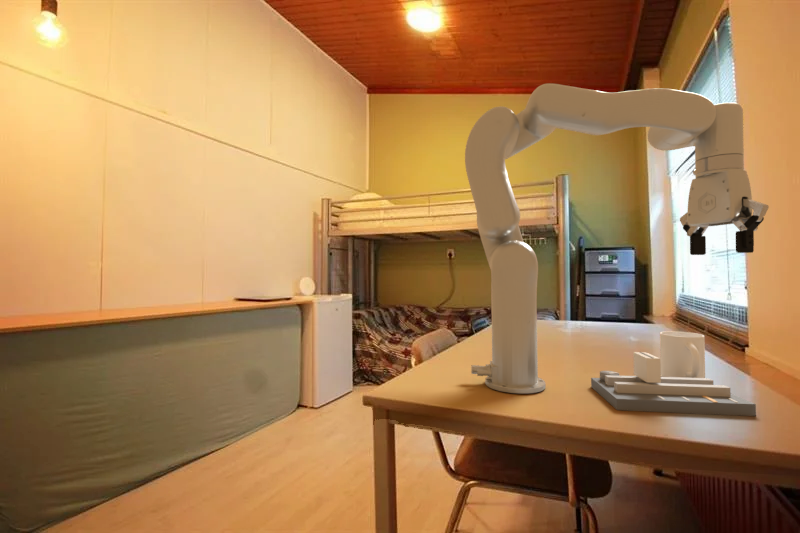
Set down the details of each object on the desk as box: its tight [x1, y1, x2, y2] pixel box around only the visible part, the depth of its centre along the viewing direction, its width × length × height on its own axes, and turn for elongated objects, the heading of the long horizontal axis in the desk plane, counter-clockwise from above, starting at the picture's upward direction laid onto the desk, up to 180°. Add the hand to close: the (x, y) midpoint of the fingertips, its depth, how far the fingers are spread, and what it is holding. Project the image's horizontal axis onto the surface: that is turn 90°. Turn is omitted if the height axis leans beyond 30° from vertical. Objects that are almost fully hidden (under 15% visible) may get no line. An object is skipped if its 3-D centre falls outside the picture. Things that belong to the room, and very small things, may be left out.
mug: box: [659, 330, 706, 378], centre depth 87 cm, size 12×8×10 cm
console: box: [590, 370, 757, 417], centre depth 75 cm, size 22×14×4 cm, turn 81°
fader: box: [632, 351, 662, 383], centre depth 75 cm, size 3×6×6 cm, turn 171°
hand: (719, 253), depth 78 cm, fingers open, 9 cm apart
